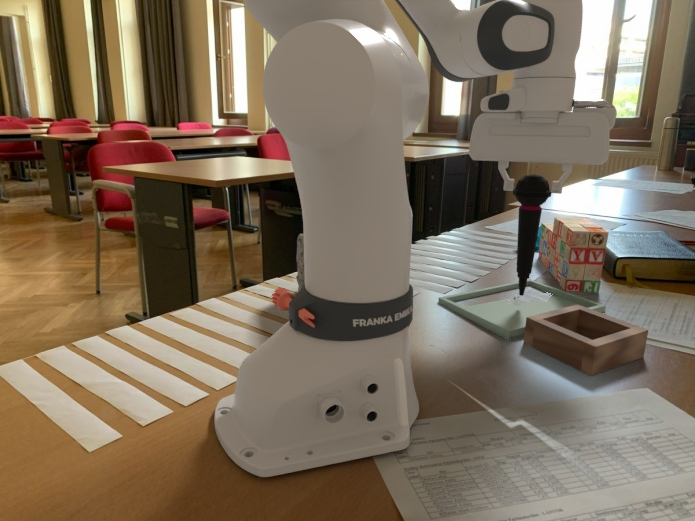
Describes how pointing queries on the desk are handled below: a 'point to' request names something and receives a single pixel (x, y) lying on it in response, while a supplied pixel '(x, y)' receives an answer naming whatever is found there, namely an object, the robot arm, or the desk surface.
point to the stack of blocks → (574, 253)
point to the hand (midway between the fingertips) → (532, 191)
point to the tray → (513, 308)
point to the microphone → (529, 222)
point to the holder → (585, 338)
